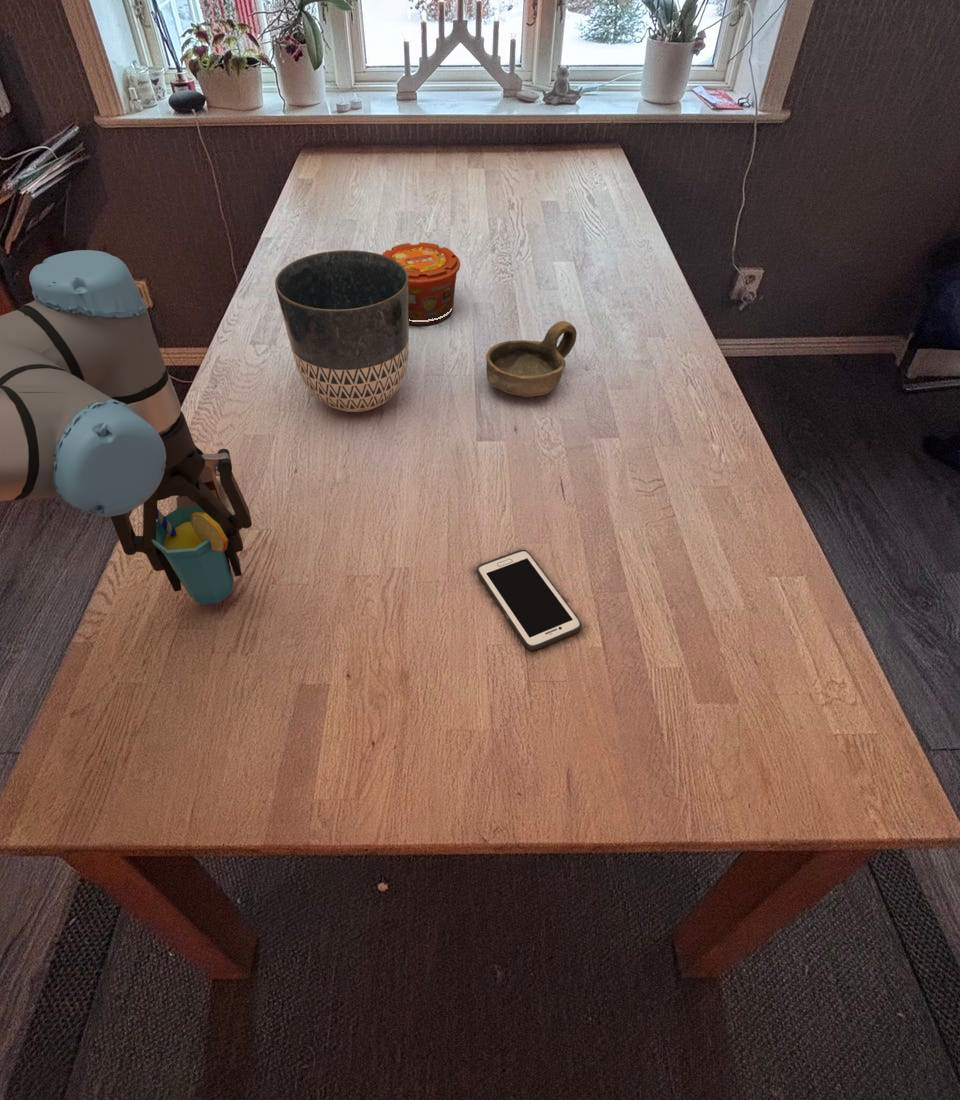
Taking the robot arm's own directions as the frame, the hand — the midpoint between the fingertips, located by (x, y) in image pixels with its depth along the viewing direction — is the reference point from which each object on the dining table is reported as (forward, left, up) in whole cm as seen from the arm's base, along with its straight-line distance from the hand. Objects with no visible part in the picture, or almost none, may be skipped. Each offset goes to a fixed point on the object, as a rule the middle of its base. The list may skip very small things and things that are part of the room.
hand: (207, 575), depth 83 cm
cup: (-1, 0, -2) cm, 2 cm away
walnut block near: (0, +12, -4) cm, 13 cm away
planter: (+27, +36, -5) cm, 46 cm away
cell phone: (+37, -14, -4) cm, 40 cm away
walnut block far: (0, +19, -4) cm, 20 cm away
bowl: (+57, +31, -5) cm, 65 cm away
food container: (+46, +63, -5) cm, 78 cm away
